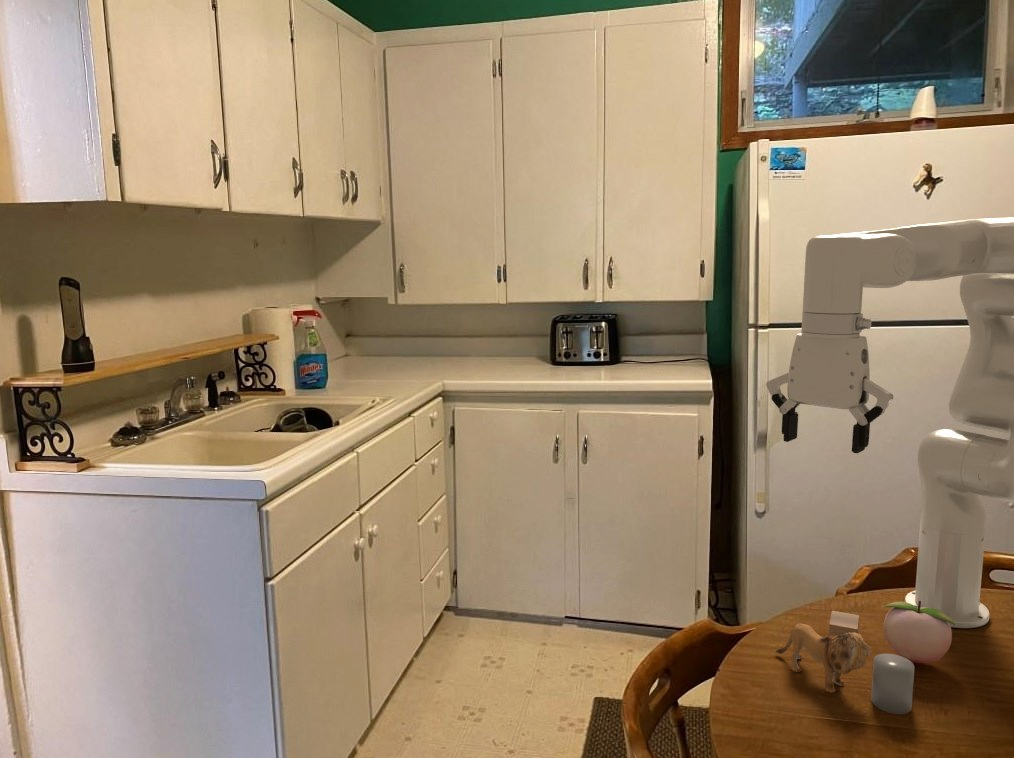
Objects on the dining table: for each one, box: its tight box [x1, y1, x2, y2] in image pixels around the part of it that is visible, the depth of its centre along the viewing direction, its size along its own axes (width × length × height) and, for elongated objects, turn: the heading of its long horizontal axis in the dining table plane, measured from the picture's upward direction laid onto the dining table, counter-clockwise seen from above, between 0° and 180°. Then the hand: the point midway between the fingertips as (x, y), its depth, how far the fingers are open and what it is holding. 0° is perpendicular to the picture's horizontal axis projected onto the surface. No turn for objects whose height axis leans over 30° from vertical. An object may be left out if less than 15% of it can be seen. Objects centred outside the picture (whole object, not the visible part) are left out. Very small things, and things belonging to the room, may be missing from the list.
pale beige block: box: [828, 610, 860, 636], centre depth 123 cm, size 5×4×4 cm
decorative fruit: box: [882, 601, 955, 664], centre depth 115 cm, size 9×8×10 cm
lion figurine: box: [775, 623, 872, 694], centre depth 113 cm, size 15×5×9 cm, turn 34°
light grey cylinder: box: [870, 653, 915, 715], centre depth 106 cm, size 5×5×6 cm
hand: (823, 445), depth 110 cm, fingers open, 9 cm apart
